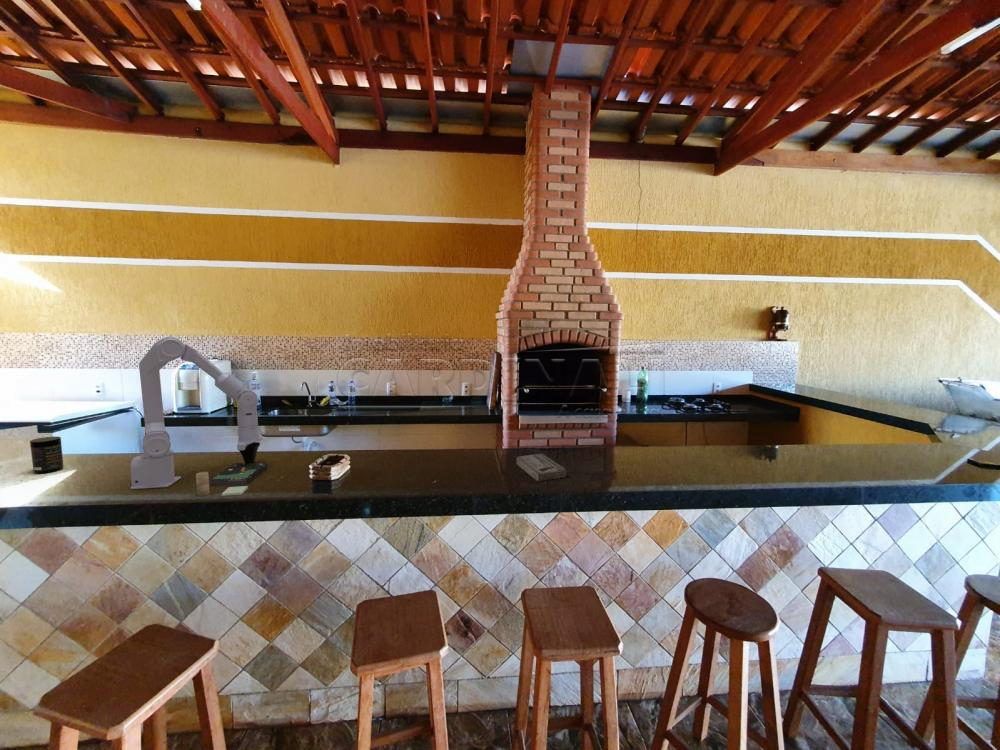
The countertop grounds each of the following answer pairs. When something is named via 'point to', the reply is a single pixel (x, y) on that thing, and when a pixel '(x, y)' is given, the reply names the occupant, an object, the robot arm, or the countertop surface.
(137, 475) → the robot arm
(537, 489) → the countertop surface
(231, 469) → the disk drive
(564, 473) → the box
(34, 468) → the supplement container
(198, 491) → the dowel
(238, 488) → the pad
